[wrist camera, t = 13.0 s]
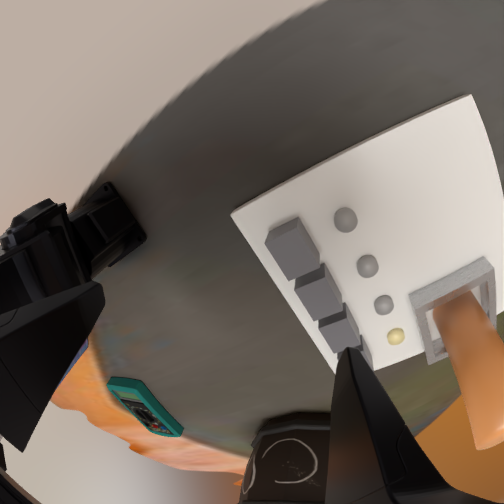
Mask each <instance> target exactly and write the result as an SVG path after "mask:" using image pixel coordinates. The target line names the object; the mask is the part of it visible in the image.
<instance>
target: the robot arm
mask: <svg viewBox="0 0 504 504" xmlns="http://www.w3.org/2000/svg"><path fill="white" fill-rule="evenodd" d="M107 187H108V189H107ZM66 209H67V207H66V204H65V203H61V204H59V205H58V204H57V203H54V202H53V201H52V200H51V199H50V198H48V199H46V200H43V201H41V202H39V203H38V204H35V205H33V206H32V207H30V208H28V209H26V210H25V211H23V212H22V213H20V214H19V215H17V216H16V217H14V218H13V220H12V223H11V226H10V227H9V228H8V229H7V230H6V232H5V233H4V234H3V235H2V236H0V243H1V245H0V440H1V439H2V437H4V438H5V439H6V440H7V441H9V442H10V443H11V444H12V445H13V446H14V447H16V448H17V449H18V450H19V451H21V452H23V451H24V450H25V448H26V446H27V443H28V441H29V439H30V437H31V435H32V433H33V431H34V429H35V427H36V425H37V423H38V421H39V419H40V417H41V416H42V414H43V412H44V410H45V408H46V406H47V404H48V402H49V401H50V399H51V397H52V395H53V393H54V392H55V390H56V388H57V386H58V385H59V383H60V381H61V380H62V378H63V376H64V375H65V373H66V371H67V370H68V368H69V366H70V365H71V363H72V361H73V360H74V358H75V357H76V355H77V353H78V352H79V350H80V349H81V347H82V345H83V344H84V342H85V341H86V339H87V338H88V336H89V334H90V332H91V330H92V329H93V327H94V325H95V323H96V321H97V319H98V317H99V315H100V313H101V312H102V310H103V308H104V306H105V297H104V292H103V287H102V285H101V284H100V283H97V282H94V281H92V279H93V278H94V277H95V276H96V275H97V274H99V273H100V272H101V271H102V270H103V269H104V268H105V267H107V266H108V267H111V266H112V265H114V264H115V263H116V262H118V261H119V260H120V259H122V258H123V257H125V256H126V255H127V254H129V253H130V252H131V251H133V250H134V249H136V248H137V247H138V246H140V245H141V244H143V243H144V242H145V241H146V239H147V238H146V235H145V233H144V232H143V230H142V229H141V227H140V226H139V225H138V223H137V222H136V220H135V219H134V217H133V216H132V214H131V213H130V211H129V210H128V208H127V207H126V205H125V204H124V202H123V201H122V199H121V198H120V196H119V195H118V193H117V192H116V190H115V189H114V187H113V185H112V184H111V183H110V182H106V183H104V184H103V185H102V186H101V187H100V188H99V189H98V190H97V191H96V192H95V193H94V194H93V195H92V197H91V198H90V199H89V200H88V201H87V202H86V203H85V204H84V206H83V207H81V208H79V209H77V210H76V211H74V212H72V213H70V214H67V211H66ZM140 237H141V238H142V239H141V238H140ZM6 470H7V468H6V463H5V457H4V451H3V445H2V444H1V443H0V504H41V503H40V502H39V501H37V500H36V499H35V498H34V497H32V496H31V495H30V494H29V493H28V492H26V491H25V490H24V489H23V488H22V487H21V486H20V485H18V484H17V483H16V482H15V481H14V480H13V479H12V478H11V477H10V476H9V475H8V474H7V473H6V472H5V471H6ZM325 504H504V503H496V502H492V501H489V500H486V499H483V498H480V497H477V496H474V495H471V494H468V493H465V492H463V491H460V490H457V489H455V488H454V487H452V486H451V485H449V484H448V483H447V482H446V481H445V480H444V478H443V477H442V476H441V474H440V473H439V472H438V470H437V469H436V468H435V466H434V465H433V464H432V462H431V461H430V460H429V458H428V457H427V456H426V454H425V453H424V451H423V450H422V449H421V447H420V446H419V444H418V443H417V441H416V440H415V438H414V436H413V435H412V433H411V432H410V430H409V428H408V427H407V425H405V422H404V420H403V419H402V417H401V415H400V414H399V412H398V410H397V409H396V407H395V405H394V404H393V402H392V401H391V399H390V397H389V396H388V394H387V393H386V391H385V389H384V388H383V386H382V385H381V383H380V381H379V380H378V378H377V377H376V375H375V374H374V372H373V370H372V369H371V367H370V366H369V364H368V363H367V361H366V360H365V358H364V356H363V355H362V353H361V352H360V350H359V349H358V348H354V347H346V348H345V349H344V351H343V353H342V355H341V357H340V359H339V361H338V363H337V367H336V375H335V383H334V390H333V397H332V405H331V426H330V447H329V463H328V476H327V487H326V497H325Z"/></svg>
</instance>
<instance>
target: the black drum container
mask: <svg viewBox="0 0 504 504" xmlns="http://www.w3.org/2000/svg"><path fill="white" fill-rule="evenodd" d="M330 426H331V414H323V413H296V414H293V415H289V416H285V417H281V418H277V419H273V420H270V421H269V423H268V424H267V426H265V427H262V429H261V430H260V432H259V433H258V435H257V436H256V437H255V439H254V440H253V442H252V444H251V446H252V447H253V448H254V449H253V451H252V454H251V456H250V459H249V461H248V464H247V467H246V471H245V474H244V478H243V482H242V486H241V493H240V501H239V503H238V504H325V497H326V487H327V476H328V463H329V447H330Z"/></svg>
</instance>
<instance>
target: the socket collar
mask: <svg viewBox="0 0 504 504" xmlns="http://www.w3.org/2000/svg"><path fill="white" fill-rule="evenodd" d="M479 285H480V294H481V307H482V308H483V310H484V311H485V313H486V314H487V316H488V318H489V319H490V321H491V323H492V324H493V326H494V328H495V329H496V282H495V269H494V267H493V266H492V265H491V264H490V262H489V261H488V260H487V259H486V258H485V257H484V256H482V257H481V258H479V259H477V260H475V261H473V262H472V263H470V264H468V265H466V266H464V267H462V268H461V269H459V270H457V271H455V272H453V273H451V274H449V275H447V276H445V277H443V278H441V279H439V280H437V281H435V282H433V283H431V284H429V285H427V286H425V287H423V288H421V289H418V290H416V291H414V292H412V293H410V294H408V296H409V299H410V302H411V305H412V308H413V312H414V315H415V319H416V322H417V326H418V329H419V333H420V337H421V341H422V345H423V349H424V352H425V355H426V359H427V362H428V365H430V364H432V363H435V362H437V361H439V360H442V359H444V358H446V357H448V353H447V351H446V348H445V346H444V343H443V341H442V338H441V337H440V338H438V339H436V340H434V341H432V339H431V334H430V330H429V325H428V321H427V317H426V313H425V312H427V311H430V310H432V309H434V308H436V307H438V306H440V305H442V304H444V303H446V302H448V301H450V300H452V299H454V298H456V297H458V296H460V295H462V294H464V293H466V292H468V291H469V290H471V289H473V288H475V287H477V286H479Z"/></svg>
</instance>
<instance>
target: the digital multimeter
mask: <svg viewBox="0 0 504 504" xmlns="http://www.w3.org/2000/svg"><path fill="white" fill-rule="evenodd" d="M107 387H108V389H109V391H110V392H111V393H112V394H113V395H114V396H115V397H116V398H117V399H118V400H119V401H120V402H121V403H122V404H123V405H124V406H125V407H126V408H127V409H128V410H129V411H130V412H131V413H132V414H133V415H134V416H135V417H136V418H137V419H138V420H139V421H140V422H141V423H142V424H143V425H144V426H145V427H146V428H147V429H148V430H149V431H150V432H152V433H155V434H158V435H161V436H167V437H180V436H181V434H182V432H183V429H184V428H183V427H182V426H181V425H180V424H179V423H178V422H177V421H176V420H175V419H174V418H173V417H172V416H171V415H170V414H169V413H168V412H167V411H166V410H165V409H164V408H163V406H162V405H161V404H160V403H159V402H158V401H157V400H156V398H155V397H154V396H153V395H152V393H151V392H150V391H149V390H148V388H147V387H146V386H145V385H144V384H143V382H142V381H139V380H134V379H129V378H120V377H111V379H110V380H109V382H108V383H107Z"/></svg>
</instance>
